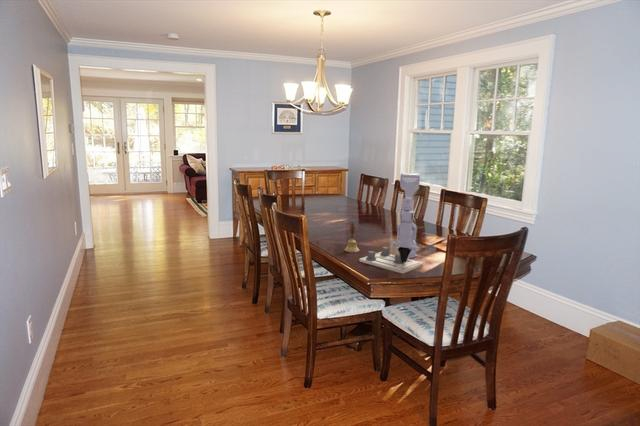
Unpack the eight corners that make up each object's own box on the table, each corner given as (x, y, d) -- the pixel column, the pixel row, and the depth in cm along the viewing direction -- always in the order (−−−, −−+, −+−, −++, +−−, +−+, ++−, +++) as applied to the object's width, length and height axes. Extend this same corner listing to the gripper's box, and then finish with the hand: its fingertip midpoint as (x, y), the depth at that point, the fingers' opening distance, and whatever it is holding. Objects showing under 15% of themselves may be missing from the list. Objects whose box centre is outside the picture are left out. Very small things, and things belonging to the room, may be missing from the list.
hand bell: (343, 252, 242) (344, 223, 239) (345, 248, 250) (346, 220, 247) (358, 252, 241) (359, 224, 238) (359, 248, 249) (360, 221, 246)
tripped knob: (398, 260, 222) (398, 253, 221) (404, 262, 220) (404, 254, 219) (393, 262, 219) (393, 254, 219) (399, 263, 217) (399, 256, 216)
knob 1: (370, 257, 226) (371, 250, 226) (376, 259, 224) (376, 251, 223) (365, 259, 224) (366, 251, 223) (371, 260, 221) (371, 253, 220)
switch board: (380, 254, 238) (380, 251, 238) (423, 265, 220) (423, 262, 220) (359, 261, 225) (359, 258, 225) (402, 273, 208) (402, 270, 207)
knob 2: (384, 253, 235) (385, 246, 234) (390, 254, 232) (390, 247, 232) (380, 254, 232) (380, 247, 231) (385, 256, 230) (386, 249, 229)
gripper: (388, 233, 217) (387, 260, 219) (414, 239, 207) (412, 267, 210) (396, 231, 222) (395, 257, 224) (422, 237, 212) (420, 264, 215)
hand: (404, 262), depth 217 cm, fingers closed
